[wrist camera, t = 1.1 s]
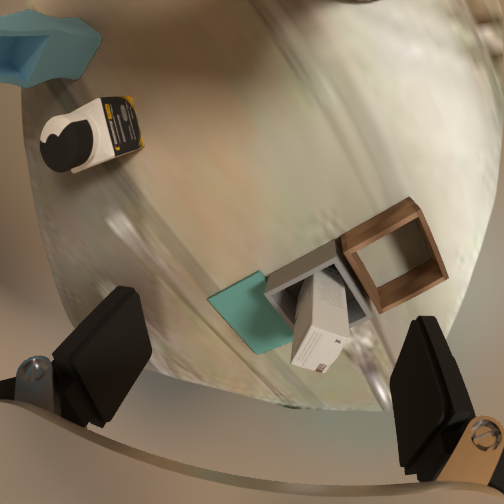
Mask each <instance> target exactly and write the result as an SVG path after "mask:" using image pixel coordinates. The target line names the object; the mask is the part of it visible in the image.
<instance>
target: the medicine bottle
mask: <svg viewBox="0 0 504 504" xmlns="http://www.w3.org/2000/svg"><path fill="white" fill-rule="evenodd" d="M143 147H144V141H143V137H142V134H141V130H140V126H139V122H138V118H137V114H136V110H135V106H134V102H133V98H132V97H131V96H119V97H102V98H97V99H95V100H93V101H91V102H89V103H87V104H85V105H84V106H82V107H80V108H78V109H76V110H75V111H73V112H71V113H69V114H64V115H58V116H54V117H52V118H51V119H49V120H48V122H47V123H46V124H45V126H44V128H43V130H42V133H41V136H40V151H41V155H42V158H43V160H44V162H45V163H46V165H47V166H48V167H49V168H51V169H52V170H54V171H56V172H65V171H68V170H70V169H71V172H72V173H77V172H79V171H82V170H85V169H87V168H90V167H92V166H95V165H97V164H100V163H103V162H106V161H108V160H111V159H113V158H116V157H119V156H122V155H124V154H127V153H130V152H133V151H136V150H139V149H142V148H143Z"/></svg>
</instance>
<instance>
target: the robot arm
mask: <svg viewBox="0 0 504 504" xmlns="http://www.w3.org/2000/svg"><path fill="white" fill-rule="evenodd" d="M358 1H370V0H358ZM151 354H152V347H151V343H150V339H149V335H148V331H147V327H146V323H145V319H144V315H143V310H142V306H141V301H140V297H139V294H138V293H137V292H136V291H135V289H134V288H131V287H125V286H118V287H116V288H115V289H114V290H113V291H112V292H111V293H110V294H109V295H108V296H107V297H106V298H105V299H104V300H103V301H102V302H101V303H100V304H99V305H98V306H97V307H96V308H95V309H94V310H93V311H92V312H91V313H90V314H89V315H88V316H87V317H86V318H85V319H84V320H83V321H82V322H81V323H80V324H79V325H78V327H77V328H76V329H75V330H74V331H73V332H72V333H71V334H70V335H69V336H68V337H67V338H66V339H65V340H64V341H63V343H61V345H60V346H59V347H58V348H57V349H56V350H55V351H54V352H53V353H52V356H53V358H54V360H53V361H52V362H51V361H50V360H49V359H48V358H47V357H45V356H34V357H30V358H28V359H27V360H25V361H24V362H23V363H22V364H21V365H20V366H19V368H18V370H17V373H16V377H13V378H10V379H6V380H2V381H0V504H504V428H503V426H502V425H501V424H500V422H499V421H497V420H496V419H494V418H492V417H490V416H478V417H476V416H475V413H474V409H473V406H472V403H471V400H470V398H469V395H468V392H467V389H466V387H465V384H464V381H463V378H462V376H461V373H460V371H459V368H458V365H457V363H456V361H455V359H454V357H453V356H452V354H451V351H450V349H449V346H448V344H447V342H446V339H445V337H444V335H443V333H442V330H441V328H440V326H439V324H438V322H437V319H436V318H435V317H434V316H418V317H417V319H416V320H412V322H411V324H410V327H409V330H408V333H407V336H406V339H405V341H404V344H403V347H402V349H401V352H400V355H399V357H398V360H397V362H396V365H395V367H394V370H393V372H392V375H391V378H390V391H391V397H392V404H393V411H394V418H395V425H396V434H397V442H398V451H399V462H400V466H401V467H404V469H405V475H410V474H417V480H419V481H418V483H405V484H391V485H363V486H362V485H358V486H340V485H339V486H338V485H336V486H335V485H312V484H299V483H288V482H279V481H271V480H262V479H256V478H250V477H243V476H238V475H232V474H227V473H222V472H217V471H213V470H208V469H203V468H200V467H196V466H191V465H188V464H184V463H180V462H177V461H173V460H170V459H166V458H163V457H160V456H157V455H153V454H150V453H147V452H144V451H141V450H138V449H136V448H133V447H130V446H127V445H125V444H122V443H119V442H117V441H114V440H112V439H109V438H106V437H104V436H102V435H100V434H97V433H95V432H93V431H90V430H88V429H87V424H88V423H89V421H90V423H91V424H94V425H96V426H98V427H101V428H103V427H104V425H105V424H106V422H109V421H111V420H112V418H113V416H114V415H115V413H116V412H117V410H118V408H119V407H120V405H121V403H122V402H123V400H124V398H125V397H126V395H127V394H128V392H129V391H130V389H131V387H132V386H133V384H134V383H135V381H136V379H137V378H138V376H139V375H140V373H141V371H142V370H143V368H144V367H145V365H146V364H147V362H148V360H149V359H150V357H151Z"/></svg>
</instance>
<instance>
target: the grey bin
mask: <svg viewBox="0 0 504 504" xmlns="http://www.w3.org/2000/svg"><path fill="white" fill-rule="evenodd" d="M332 264H335V266H336V268H337V269H338V271H339V272H340V274H341V275H342V277H343V279H344V280H345V282H346V283H347V285H348V287H349V288H350V290H351V291H352V293H353V295H354V296H355V298H356V299H354V300H352V301H350V302H348V303H347V312H348V322H349V328H351V327H353V326H356V325H358V324H360V323H362V322H364V321H367V320H369V319H371V318H373V315H372V310H371V305H370V300H369V296H368V294H367V292H366V291H365V289H364V287H363V286H362V284H361V282H360V280H359V279H358V277H357V275H356V274H355V272H354V270H353V269H352V267H351V265H350V264H349V262H348V261H347V259H346V257H345V256H344V254H343V252H342V251H341V249H340V248H339V246H338V244H337V243H336V241H335V240H332V241H330V242H328V243H327V244H325V245H323V246H321V247H319V248H318V249H316V250H314V251H312V252H310V253H308V254H307V255H305V256H303V257H301V258H299V259H297V260H296V261H294V262H292V263H290V264H288V265H286V266H284V267H283V268H281V269H279V270H277V271H275V272H273V273H271V274H269V277H268V281H267V284H266V287H265V291H264V295H265V297H266V298H267V299H268V300H269V302H270V303H271V304H272V305H273V307H274V308H275V309H276V310H277V312H278V313H279V314H280V315H281V317H282V318H283V319H284V320H285V322H286V323H287V324H288V325H289V327H290V328H291V329H292V330H293V332H294V324H295V315H296V305H297V304H296V302H295V301H294V300H293V298H292V297H291V296H290V294H289V293H288V292H287V290H286V289H285V288H287V287H289V286H291V285H293V284H295V283H297V282H299V281H301V280H303V279H305V278H307V277H309V276H311V275H312V274H314V273H316V272H318V271H320V270H322V269H324V268H326V267H328V266H330V265H332Z"/></svg>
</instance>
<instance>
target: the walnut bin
mask: <svg viewBox="0 0 504 504" xmlns="http://www.w3.org/2000/svg"><path fill="white" fill-rule="evenodd" d="M413 219H415V220H416V222H417V224H418V227H419V229H420V231H421V233H422V236H423V238H424V240H425V242H426V245H427V247H428V249H429V252H430V254H431V257H432V259H431V260H429V261H427V262H425V263H424V264H422V265H420V266H418V267H416V268H415V269H413V270H411V271H409V272H407V273H405V274H403V275H402V276H400V277H398V278H396V279H394V280H392V281H390V282H388V283H386V284H384V285H382V286H381V287H379V288H377V287H376V286H375V284H374V282H373V280H372V278H371V277H370V275H369V273H368V271H367V270H366V268H365V266H364V264H363V263H362V261H361V259H360V258H359V256H358V254H357V252H356V251H358V250H360V249H362V248H363V247H365V246H367V245H369V244H371V243H373V242H374V241H376V240H378V239H380V238H382V237H383V236H385V235H387V234H389V233H391V232H392V231H394V230H396V229H398V228H399V227H401V226H403V225H405V224H406V223H408V222H410V221H412V220H413ZM341 241H342V248H343V253H344V255H345V256H346V258H347V260H348V261H349V263H350V265H351V266H352V268H353V270H354V271H355V273H356V275H357V276H358V278H359V280H360V281H361V283H362V285H363V286H364V288H365V290H366V292H367V293H368V295H369V297H370V298H371V300H372V302H373V304H374V305H375V307H376V309H377V311H378V313H379V314H381V313H383V312H385V311H388V310H390V309H392V308H394V307H396V306H398V305H400V304H402V303H404V302H406V301H408V300H409V299H411V298H413V297H415V296H417V295H419V294H421V293H423V292H425V291H427V290H428V289H430V288H432V287H434V286H436V285H438V284H439V283H441V282H443V281H445V280H447V279H448V278H449V277H448V274H447V271H446V269H445V266H444V263H443V260H442V258H441V255H440V253H439V250H438V248H437V245H436V243H435V240H434V238H433V235H432V233H431V231H430V228H429V226H428V224H427V221H426V219H425V217H424V215H423V213H422V210H421V209H420V208H419V206H418V205H417V204H416V203H415V202H414V201H413V200H412V199H411V198H410V197H408V198H406V199H404V200H403V201H401V202H399V203H397V204H396V205H394V206H392V207H391V208H389V209H387V210H385V211H384V212H382V213H380V214H378V215H377V216H375V217H373V218H371V219H369V220H368V221H366V222H364V223H362V224H361V225H359V226H357V227H355V228H354V229H352V230H350V231H348V232H346V233H345V234H343V235H341Z"/></svg>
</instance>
